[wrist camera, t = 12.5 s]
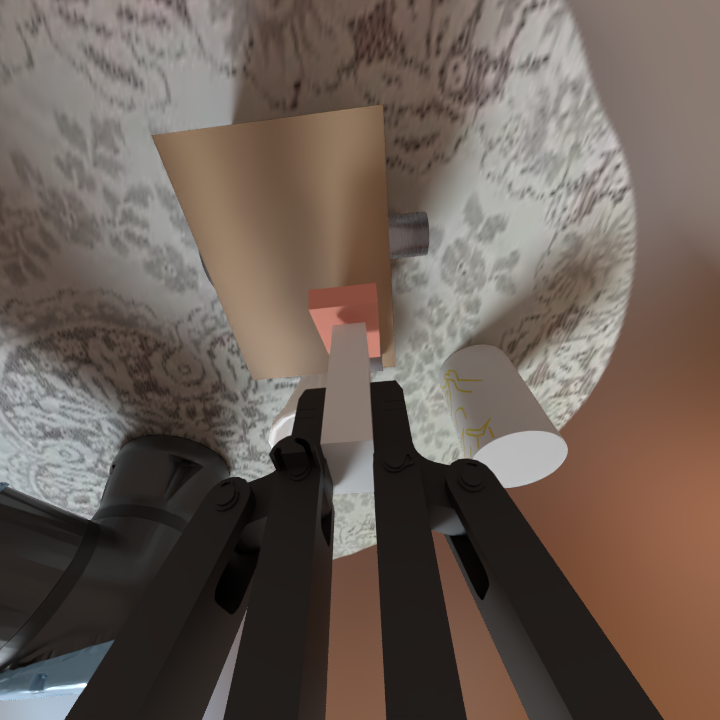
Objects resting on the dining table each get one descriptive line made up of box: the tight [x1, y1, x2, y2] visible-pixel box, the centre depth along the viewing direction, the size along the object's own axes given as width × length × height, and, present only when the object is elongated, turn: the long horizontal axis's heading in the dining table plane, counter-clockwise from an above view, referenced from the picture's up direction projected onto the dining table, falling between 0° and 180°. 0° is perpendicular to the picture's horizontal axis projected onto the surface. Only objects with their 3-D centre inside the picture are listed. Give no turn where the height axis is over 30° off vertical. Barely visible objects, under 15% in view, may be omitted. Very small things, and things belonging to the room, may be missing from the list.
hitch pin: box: [199, 211, 429, 286], centre depth 22 cm, size 15×5×5 cm, turn 96°
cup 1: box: [268, 373, 328, 448], centre depth 33 cm, size 10×10×9 cm
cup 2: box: [438, 344, 567, 488], centre depth 32 cm, size 8×8×12 cm
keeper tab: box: [308, 283, 383, 372], centre depth 17 cm, size 3×8×2 cm
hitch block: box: [151, 104, 395, 380], centre depth 22 cm, size 10×14×11 cm
